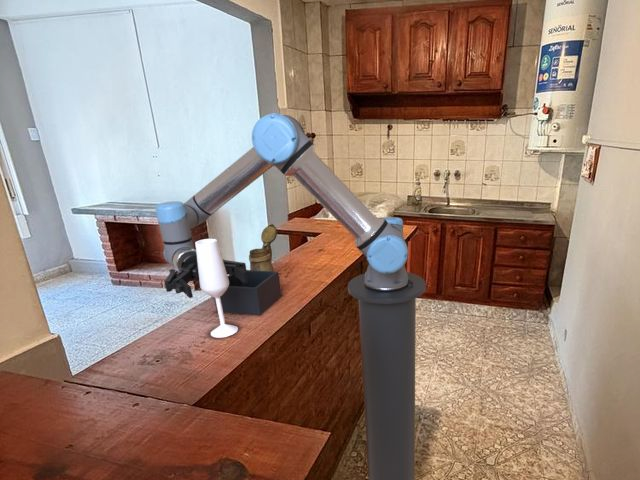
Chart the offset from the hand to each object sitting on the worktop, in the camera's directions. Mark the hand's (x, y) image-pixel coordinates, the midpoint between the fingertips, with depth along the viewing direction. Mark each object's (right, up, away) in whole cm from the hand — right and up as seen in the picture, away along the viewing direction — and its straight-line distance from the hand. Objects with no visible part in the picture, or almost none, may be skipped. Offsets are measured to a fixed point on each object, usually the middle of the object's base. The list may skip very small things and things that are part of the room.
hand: (219, 284), depth 95 cm
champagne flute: (-2, -12, +8) cm, 15 cm away
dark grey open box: (0, -5, +23) cm, 24 cm away
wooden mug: (0, +2, +41) cm, 42 cm away
